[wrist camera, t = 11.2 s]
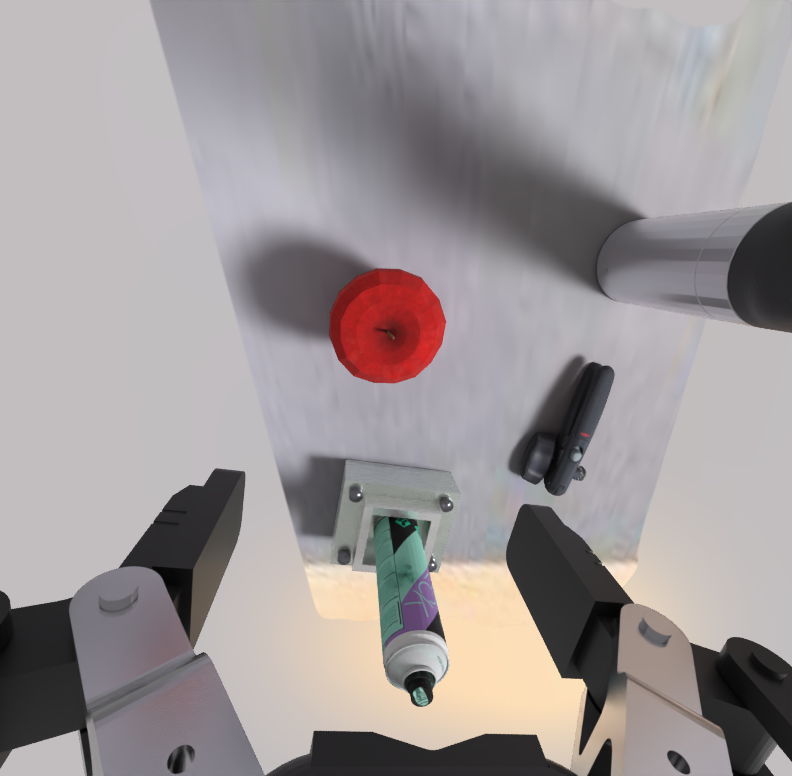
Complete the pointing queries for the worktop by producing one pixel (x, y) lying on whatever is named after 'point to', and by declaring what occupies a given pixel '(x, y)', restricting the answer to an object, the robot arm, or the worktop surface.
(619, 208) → the worktop surface
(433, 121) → the worktop surface
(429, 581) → the spray can
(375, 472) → the grey square holder
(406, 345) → the apple
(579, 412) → the can opener
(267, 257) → the worktop surface
